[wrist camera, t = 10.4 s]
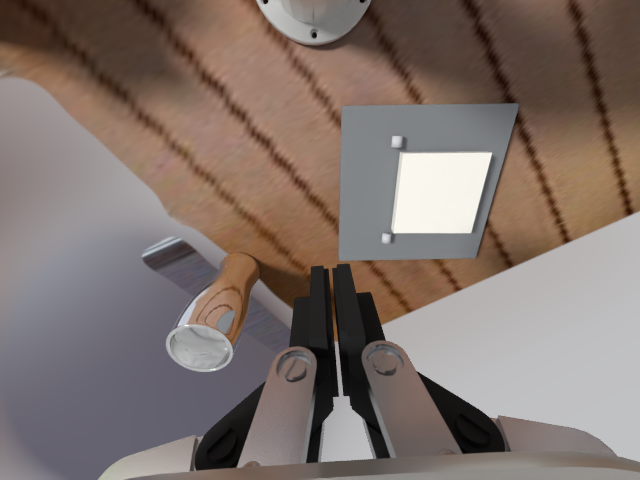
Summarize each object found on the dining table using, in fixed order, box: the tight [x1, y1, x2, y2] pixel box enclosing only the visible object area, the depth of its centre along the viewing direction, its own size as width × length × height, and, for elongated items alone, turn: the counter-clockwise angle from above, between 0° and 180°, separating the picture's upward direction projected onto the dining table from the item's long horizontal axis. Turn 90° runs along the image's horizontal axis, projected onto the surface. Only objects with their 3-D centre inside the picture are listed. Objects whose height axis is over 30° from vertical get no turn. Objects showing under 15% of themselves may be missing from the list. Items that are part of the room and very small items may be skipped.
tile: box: [391, 151, 492, 233], centre depth 32 cm, size 10×2×10 cm
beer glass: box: [166, 253, 260, 372], centre depth 32 cm, size 7×7×15 cm
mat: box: [338, 103, 520, 261], centre depth 33 cm, size 20×20×2 cm
